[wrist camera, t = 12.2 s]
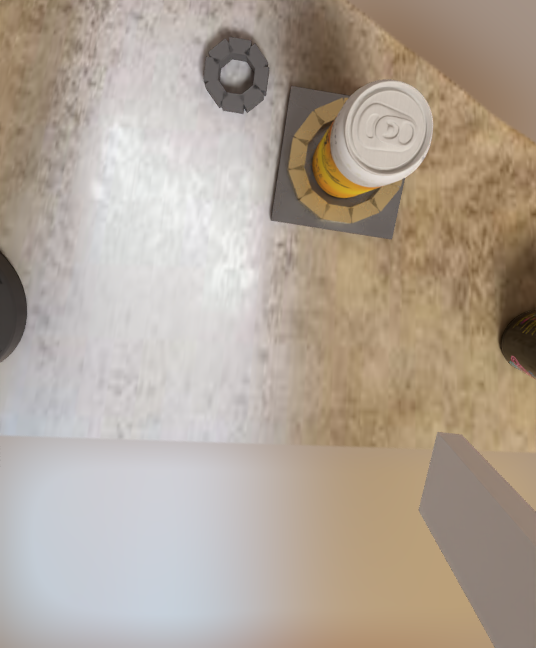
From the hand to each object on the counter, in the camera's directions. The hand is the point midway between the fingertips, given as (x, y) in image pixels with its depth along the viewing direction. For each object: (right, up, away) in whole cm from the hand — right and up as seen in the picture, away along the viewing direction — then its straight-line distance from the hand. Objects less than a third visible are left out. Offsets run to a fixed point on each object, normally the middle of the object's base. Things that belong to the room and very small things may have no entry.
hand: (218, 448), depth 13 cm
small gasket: (-1, +26, +26) cm, 37 cm away
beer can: (+9, +19, +27) cm, 34 cm away
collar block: (+9, +19, +28) cm, 35 cm away
